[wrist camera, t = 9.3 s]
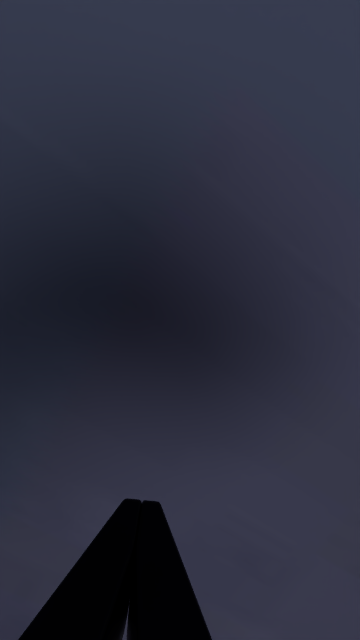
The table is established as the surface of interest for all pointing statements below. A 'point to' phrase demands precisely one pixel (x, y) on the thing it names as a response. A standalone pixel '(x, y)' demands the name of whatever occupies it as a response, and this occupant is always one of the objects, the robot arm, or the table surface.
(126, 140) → the table surface
